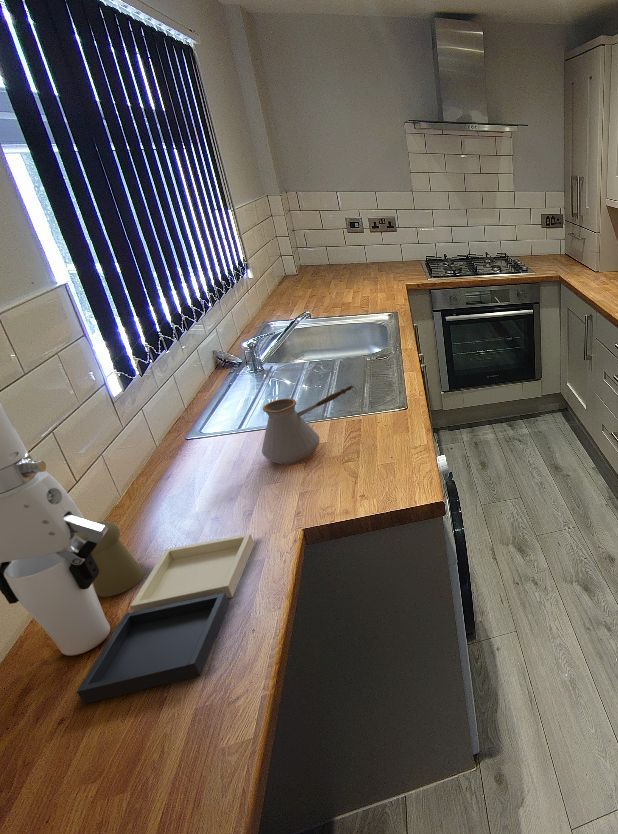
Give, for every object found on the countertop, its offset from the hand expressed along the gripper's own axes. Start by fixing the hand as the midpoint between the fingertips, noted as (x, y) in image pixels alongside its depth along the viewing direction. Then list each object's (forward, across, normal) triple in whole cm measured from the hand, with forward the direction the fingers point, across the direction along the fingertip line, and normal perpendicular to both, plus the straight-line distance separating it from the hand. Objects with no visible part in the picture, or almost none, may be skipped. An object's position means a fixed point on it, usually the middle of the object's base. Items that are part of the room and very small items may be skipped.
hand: (56, 587), depth 70 cm
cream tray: (+10, -11, -9) cm, 17 cm away
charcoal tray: (+10, -11, +5) cm, 16 cm away
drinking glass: (+10, 0, 0) cm, 10 cm away
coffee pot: (+10, -23, -46) cm, 52 cm away
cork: (+10, +1, -12) cm, 16 cm away
